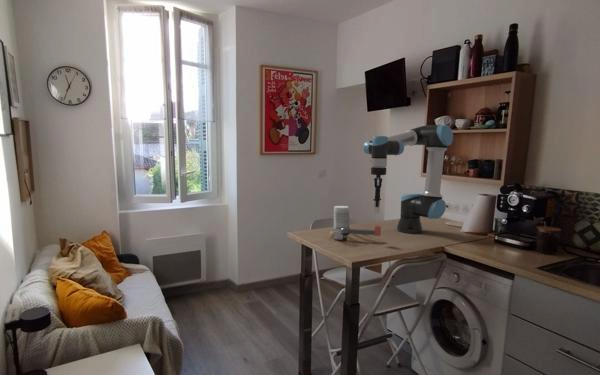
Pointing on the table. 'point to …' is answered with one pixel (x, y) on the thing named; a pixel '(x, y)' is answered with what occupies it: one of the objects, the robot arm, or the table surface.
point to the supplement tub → (341, 217)
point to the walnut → (332, 234)
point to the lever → (355, 232)
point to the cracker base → (356, 240)
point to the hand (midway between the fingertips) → (376, 212)
